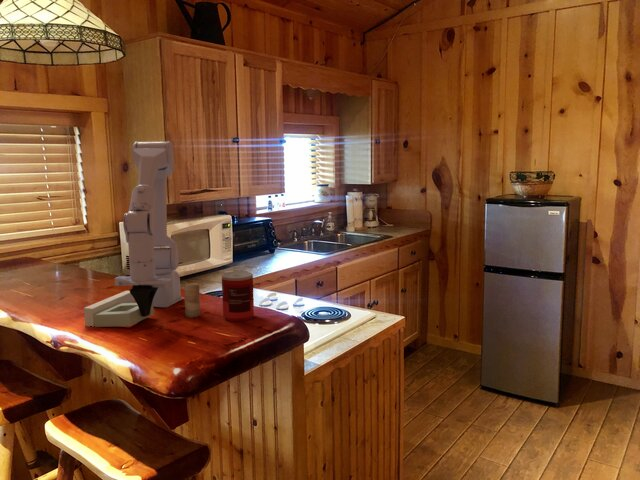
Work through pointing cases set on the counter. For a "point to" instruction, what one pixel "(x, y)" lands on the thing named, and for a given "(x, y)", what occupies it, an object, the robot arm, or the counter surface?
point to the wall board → (106, 305)
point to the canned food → (237, 296)
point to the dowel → (192, 300)
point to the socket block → (119, 315)
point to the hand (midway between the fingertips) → (145, 315)
